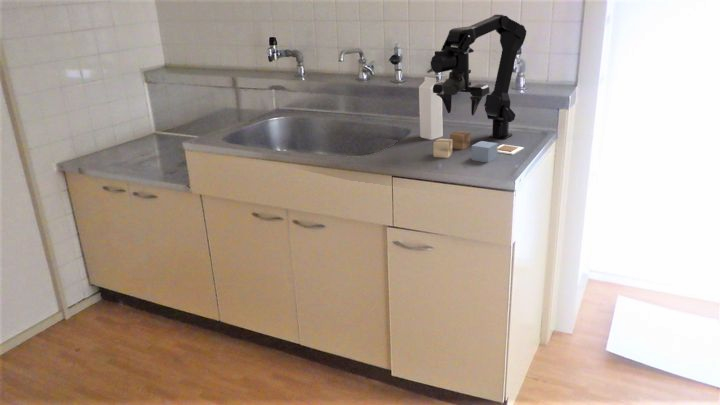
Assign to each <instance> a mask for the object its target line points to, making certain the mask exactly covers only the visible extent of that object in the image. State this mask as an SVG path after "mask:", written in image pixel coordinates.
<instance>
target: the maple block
mask: <svg viewBox="0 0 720 405" xmlns="http://www.w3.org/2000/svg"><path fill="white" fill-rule="evenodd" d="M432 146H433V150H432V151H433V158H446V159H449V158H450V157H451V155H453V148H452V139H450V138H436V139H435V141H433V143H432Z"/></svg>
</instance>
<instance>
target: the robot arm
mask: <svg viewBox="0 0 720 405" xmlns="http://www.w3.org/2000/svg"><path fill="white" fill-rule="evenodd" d="M494 31H495V32H496V33H497V34H498V35H500V36H499V43H500V46H501V49H502V50H501V54H500V59H499V65H498V68H497V69H498V70H497V75H496V78H495V83H494V87H493V91H492V92H491V93H490V87H489V86H488V84H479V83H478V84H475V85H474V86H473V85H472V82H471V81H470V74H471V73H472V69H470V61H469V60H470V59H469V58H470V55H469V54H471V53H474V51H475V50H474V49H473V48H472V47H470V46H471V45H473V44H474V43H475V42H476V40H477V39H478V38H480V37H482V36H486V35H487V34H489V33H492V32H494ZM526 36H527V29H526V28H525V26H524V25H523V24H521V23H519V22H517V21H516V20H513V19H511V18H510V17H508V16H507V15H505V14H497V13H496V14H494V15H492V16H490V17H488V18H485V19H483V20H481V21H478V22H476V23H474V24H471V25H469V26H461V27H459V26H458V27H455V28H454V27H453V28H451V29H450V30H449V31H448V34H447V36H446V39H445V41H444V43H443V45H442V47H441V50H435V51H434V55H433V56H432V57H431V59H430V60H431V61H430V67H431V70H432V71H433V72H434V73H436V74H439V73H445V72H448V71H449V74H448V78H447V79H445V81H439V82H436V83H437V84H434V86H433V93H437V94H436V95H437V96H440V97H441V98H442V103H443V104H444V106H445V109H446V112H447V113H448V114H451V113H452V112H451V110H452V96H455V95H457V94H458V93H460V92H461V93H470V96H469V99H470V101H471V108H470V109H471V116H474V115H475V114H476V112H477V109H478V107H479V105H480V102H481V100H482V99H483V97H485V102H484V105H483V106H484V112H485V113H486V117H487V119H488V120H492V129H491V130H492V131H491V132H492V133H490V134H489V135H488V138H493V139H500V140H505V139H507V138H509V137H511V136H513V133H510V123H512V122H513V121H515V118H516V114H515V112H514V111H513V110H512V108H511V99H510V98H511V97H510V96H509V89H510V84H511V80H512V75H513V72H514V67H515V62H516V56H517V52H519V50H520V49H521V47H522V46H523V45H524V42H525V40H526ZM471 85H472V86H471Z"/></svg>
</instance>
